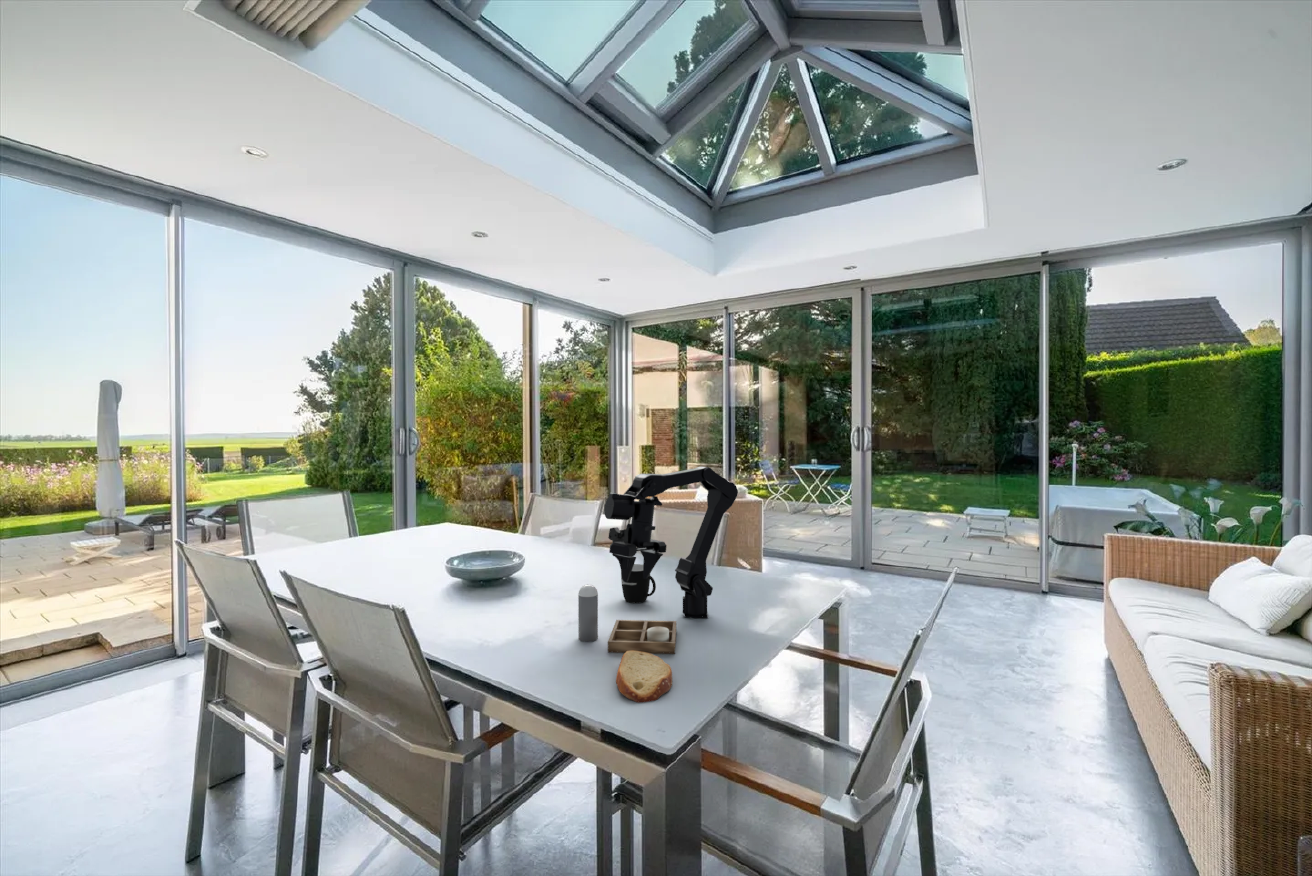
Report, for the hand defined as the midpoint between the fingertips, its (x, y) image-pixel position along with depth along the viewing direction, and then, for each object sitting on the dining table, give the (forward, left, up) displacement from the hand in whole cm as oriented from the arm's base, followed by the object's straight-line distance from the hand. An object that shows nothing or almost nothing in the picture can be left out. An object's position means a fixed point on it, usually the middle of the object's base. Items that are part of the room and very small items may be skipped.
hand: (635, 580), depth 150 cm
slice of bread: (-4, +32, -13) cm, 35 cm away
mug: (+1, -22, -12) cm, 25 cm away
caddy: (-3, +11, -12) cm, 17 cm away
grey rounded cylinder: (+11, +10, -12) cm, 19 cm away
